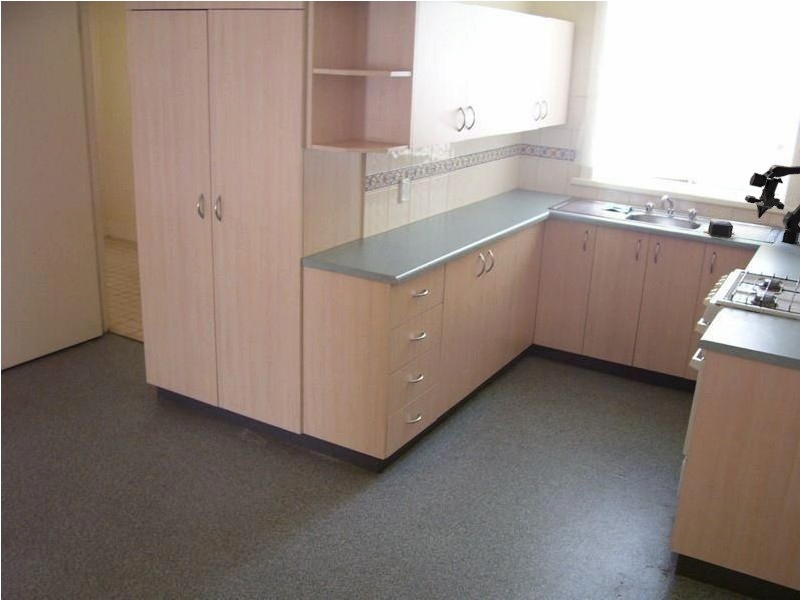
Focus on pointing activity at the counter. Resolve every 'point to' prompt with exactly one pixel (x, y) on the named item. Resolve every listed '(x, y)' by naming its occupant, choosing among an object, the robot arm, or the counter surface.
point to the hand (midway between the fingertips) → (758, 217)
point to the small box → (720, 228)
